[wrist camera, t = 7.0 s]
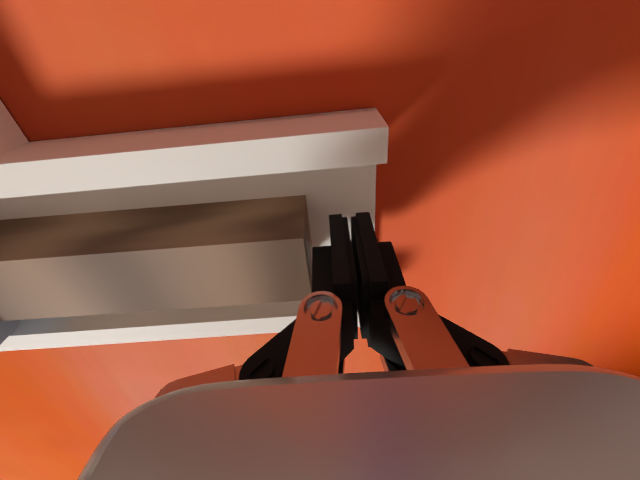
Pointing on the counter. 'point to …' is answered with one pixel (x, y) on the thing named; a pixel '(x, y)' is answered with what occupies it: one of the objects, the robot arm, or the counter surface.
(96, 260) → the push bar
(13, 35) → the counter surface
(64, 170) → the lane
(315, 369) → the robot arm
